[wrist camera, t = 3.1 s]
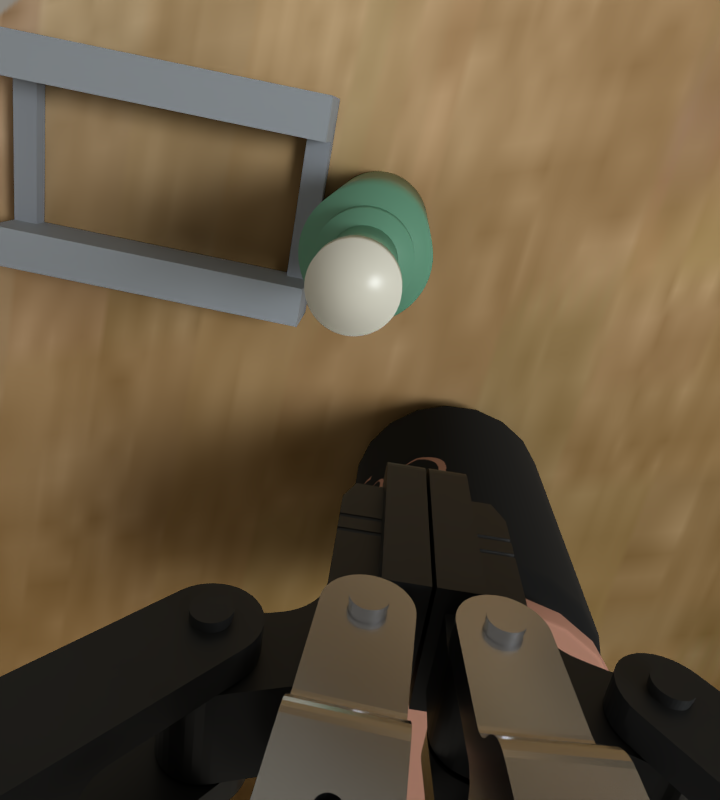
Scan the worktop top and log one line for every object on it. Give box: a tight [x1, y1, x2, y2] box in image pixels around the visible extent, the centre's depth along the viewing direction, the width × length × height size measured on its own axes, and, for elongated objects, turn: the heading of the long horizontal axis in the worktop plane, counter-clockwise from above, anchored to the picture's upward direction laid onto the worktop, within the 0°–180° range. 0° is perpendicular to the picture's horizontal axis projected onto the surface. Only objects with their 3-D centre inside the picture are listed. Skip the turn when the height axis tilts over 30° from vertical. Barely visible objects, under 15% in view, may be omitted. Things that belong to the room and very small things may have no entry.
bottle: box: [298, 171, 433, 336], centre depth 27 cm, size 5×5×16 cm
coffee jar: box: [356, 406, 609, 800], centre depth 32 cm, size 11×11×18 cm
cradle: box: [0, 27, 340, 327], centre depth 33 cm, size 16×11×3 cm
